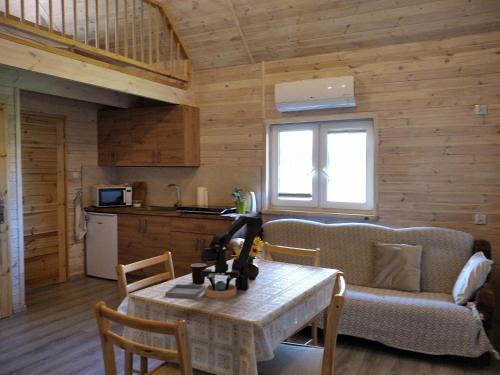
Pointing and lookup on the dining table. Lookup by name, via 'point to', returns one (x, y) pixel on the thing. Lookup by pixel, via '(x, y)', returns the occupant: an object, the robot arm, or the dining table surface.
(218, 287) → the ball
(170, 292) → the tray
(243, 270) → the robot arm
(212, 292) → the bowl
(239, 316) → the dining table surface
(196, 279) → the coffee mug
